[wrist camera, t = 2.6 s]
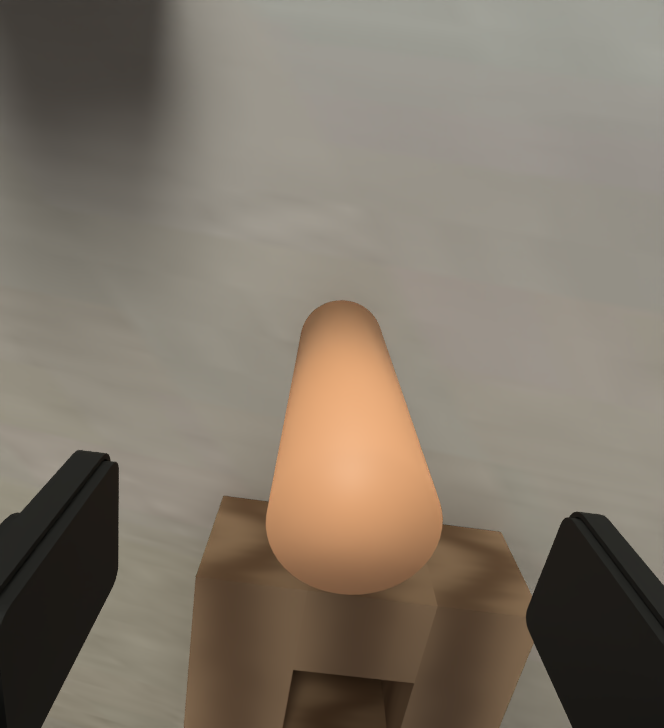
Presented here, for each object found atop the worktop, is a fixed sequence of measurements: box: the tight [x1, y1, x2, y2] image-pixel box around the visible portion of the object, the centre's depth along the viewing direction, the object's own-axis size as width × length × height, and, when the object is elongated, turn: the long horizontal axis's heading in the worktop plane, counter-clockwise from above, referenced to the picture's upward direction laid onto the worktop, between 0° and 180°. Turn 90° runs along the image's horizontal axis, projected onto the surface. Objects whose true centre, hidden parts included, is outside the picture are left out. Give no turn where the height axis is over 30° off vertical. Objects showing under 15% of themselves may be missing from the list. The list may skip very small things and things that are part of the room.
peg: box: [266, 300, 443, 595], centre depth 18 cm, size 4×4×14 cm
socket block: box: [184, 496, 534, 728], centre depth 28 cm, size 16×16×6 cm
